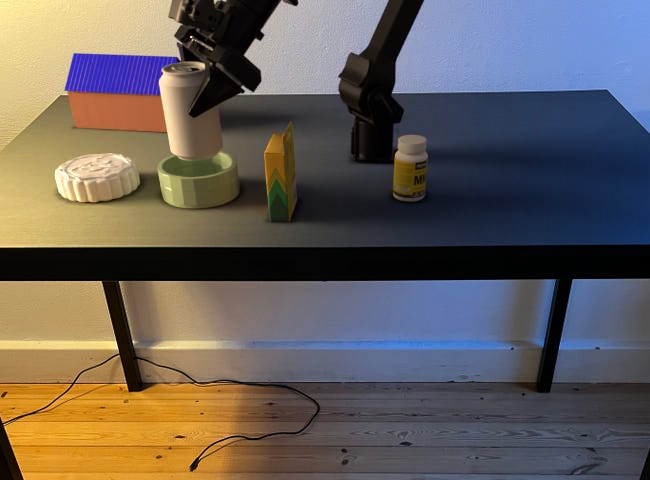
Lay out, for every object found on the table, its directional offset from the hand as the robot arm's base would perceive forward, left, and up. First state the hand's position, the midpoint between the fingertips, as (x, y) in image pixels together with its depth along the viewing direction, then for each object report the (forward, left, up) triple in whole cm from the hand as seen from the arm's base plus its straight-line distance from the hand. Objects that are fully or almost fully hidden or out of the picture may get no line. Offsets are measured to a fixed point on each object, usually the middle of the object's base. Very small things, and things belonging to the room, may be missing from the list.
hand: (181, 108), depth 94 cm
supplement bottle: (-32, -2, -13) cm, 34 cm away
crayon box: (-14, +5, -13) cm, 20 cm away
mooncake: (+15, -2, -13) cm, 20 cm away
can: (-1, -1, -7) cm, 7 cm away
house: (+20, -34, -13) cm, 41 cm away
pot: (-1, -1, -13) cm, 13 cm away
